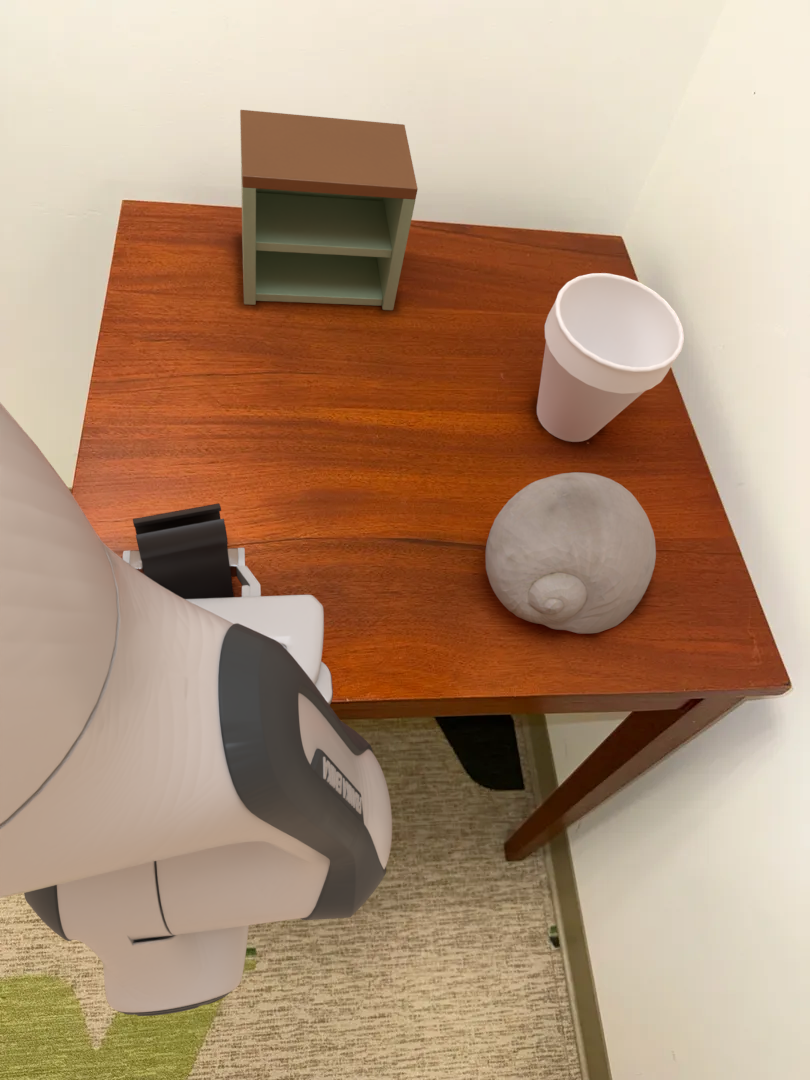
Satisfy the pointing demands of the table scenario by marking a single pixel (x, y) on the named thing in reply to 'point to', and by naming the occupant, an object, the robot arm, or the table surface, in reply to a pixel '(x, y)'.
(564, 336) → the cup
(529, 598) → the seashell
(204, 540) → the phone stand
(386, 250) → the shelf
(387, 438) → the table surface
